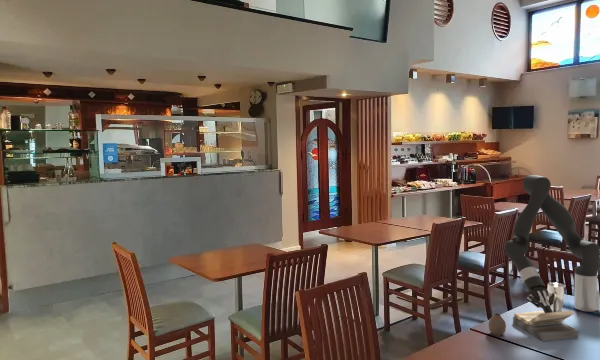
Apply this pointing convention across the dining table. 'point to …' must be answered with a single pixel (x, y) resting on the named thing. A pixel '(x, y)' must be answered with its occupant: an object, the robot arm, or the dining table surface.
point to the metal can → (556, 296)
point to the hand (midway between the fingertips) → (550, 315)
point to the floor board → (544, 327)
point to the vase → (497, 325)
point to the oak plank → (551, 317)
